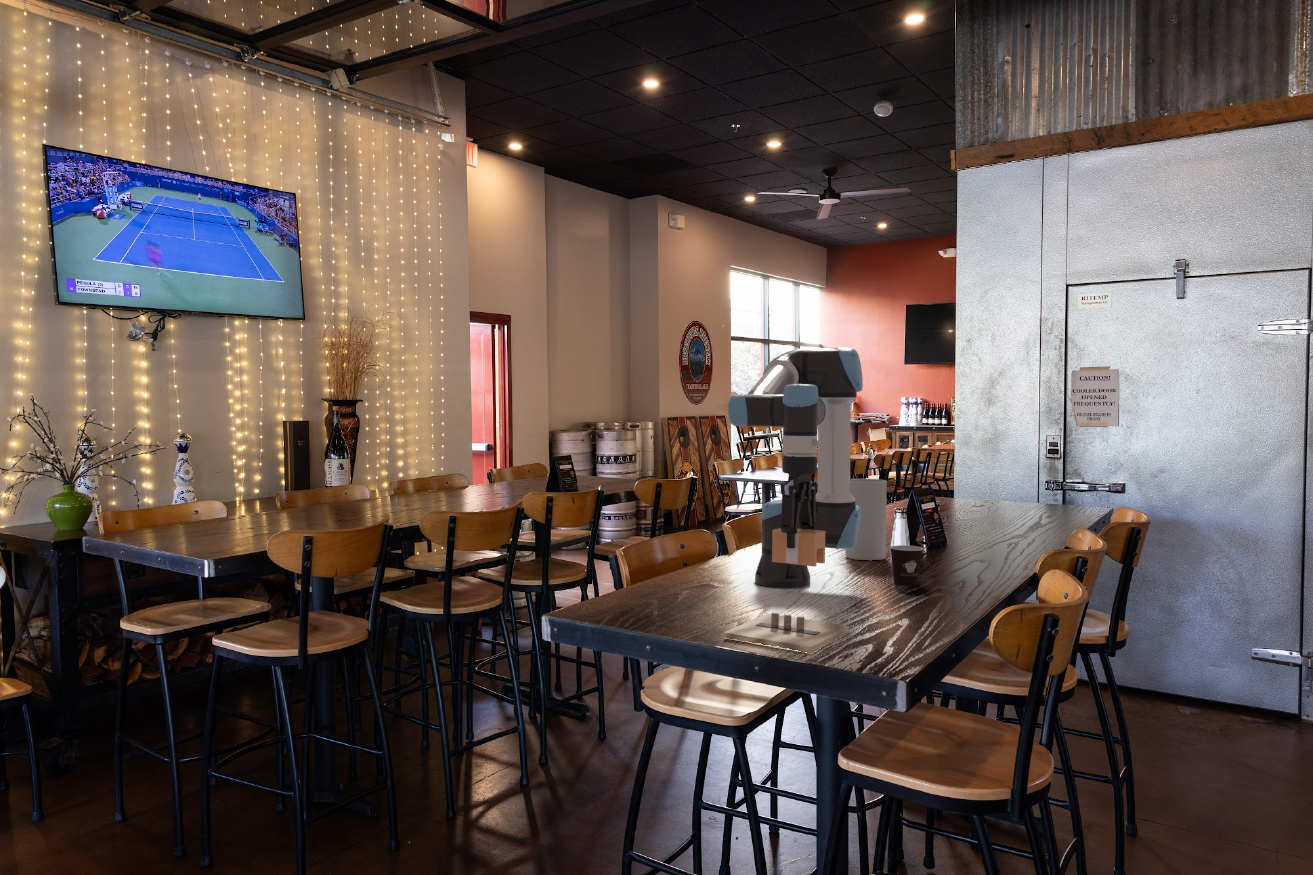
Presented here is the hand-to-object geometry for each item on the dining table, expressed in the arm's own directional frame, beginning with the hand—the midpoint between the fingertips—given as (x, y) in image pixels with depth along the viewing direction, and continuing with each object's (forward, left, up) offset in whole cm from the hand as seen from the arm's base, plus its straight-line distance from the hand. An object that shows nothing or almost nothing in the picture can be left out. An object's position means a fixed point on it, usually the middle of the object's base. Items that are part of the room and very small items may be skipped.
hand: (798, 560), depth 193 cm
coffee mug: (+5, +63, -16) cm, 65 cm away
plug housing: (0, 0, 0) cm, 0 cm away
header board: (0, -5, -16) cm, 16 cm away
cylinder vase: (-20, +94, -16) cm, 98 cm away
